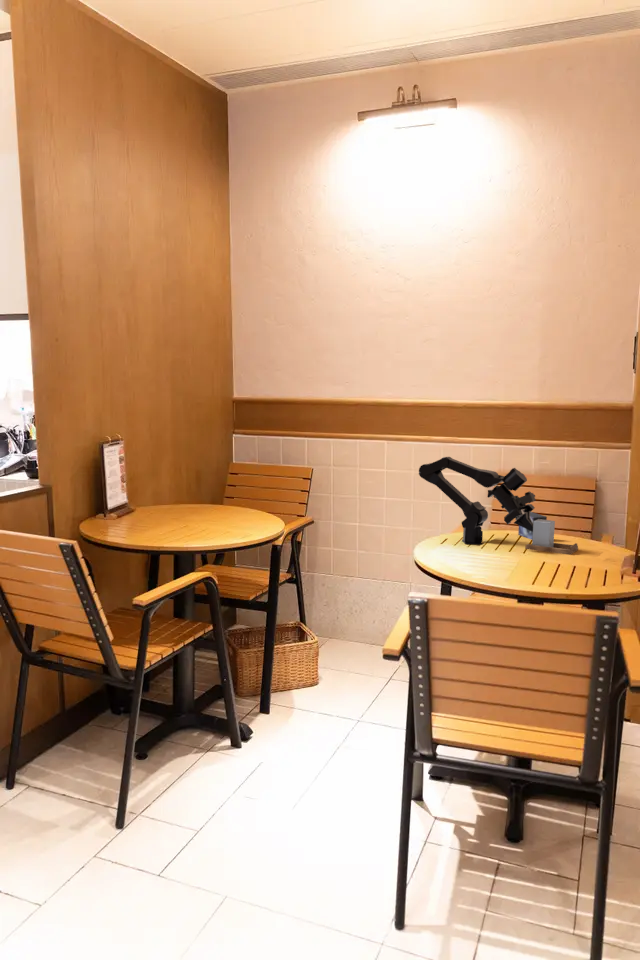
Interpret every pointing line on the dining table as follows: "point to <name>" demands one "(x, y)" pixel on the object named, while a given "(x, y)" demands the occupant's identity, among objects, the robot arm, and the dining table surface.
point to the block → (543, 533)
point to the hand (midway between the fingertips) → (534, 531)
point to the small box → (533, 516)
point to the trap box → (555, 548)
